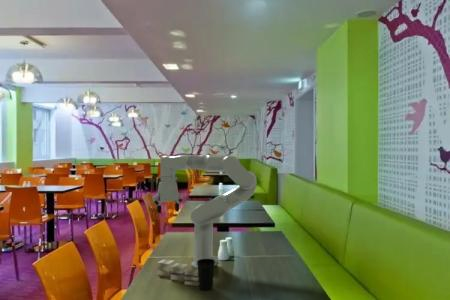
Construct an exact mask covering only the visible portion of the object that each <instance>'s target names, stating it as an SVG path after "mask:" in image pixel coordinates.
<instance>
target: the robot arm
mask: <svg viewBox="0 0 450 300" xmlns="http://www.w3.org/2000/svg"><path fill="white" fill-rule="evenodd" d="M184 170H202V171H205V172H217V173H219V172H220V173H225V174H226V176H228V177H229V178H230V179H231V180H232V181H233V182H234V183H235V185H237V186H236V187H235V188H232V189H230V190H229V191H227V192H225V193H222V194H220V195H217V196H216V197H215V198H212V199H210V200H209V201H206V202H205V203H200V204H198V205H197V206H195V208H193V210H192V211H191V212H190V221H191V222H192V224H193V225H194V229H193V233H194V235H193V239H194V240H193V241H194V243H193V248H194V249H193V250H194V251H193V252H194V254H193V256H194V257H193V259H194V260H193V261H191V263H190V265H191V267H192V268H198V265H197V261H198V260H200V259H212V260H214V261H215V266H216V264H217V265H218V264H220V263H221V260H220V258H216V257H215V255H213V254H214V253H213V250H214V249H213V247H214V246H213V245H214V244H213V243H214V241H213V240H214V239H213V238H214V237H213V235H214V234H213V233H214V228H213V227H214V221H215V220H218V219H221V218H222V217H223V216H225V215H226V214H227V213H229V211H230V210H232V209H234V208H236V207H238V206H240V205H241V204H243V203H245V202H246V201H248V200H249V199H251V198H252V196H253V194H254V193H255V191H256V189H257V176H256V174H255V173H254V172H252V171H249V170H248V169H246V168H245V167H244V166H243V164H241V163H240V160H239V158H238V157H237V156H235V155H225V154H224V155H223V154H221V155H220V154H205V155H197V154H196V155H194V154H193V155H191V154H189V155H188V154H182V155H176V156H174V155H162V156H161V157H160V181H159V183H158V186H157V194H155V195H154V196H152V197H151V199H152V201H153V203H154V204H155V205H156V211H157V213H158V214H162V203H166V202H175V204H174V211H175V212H177V213H178V212H179V210H180V204H181V202H183V199H184V197H185V195H184V194H182V193H180V192H179V191H178V190H179V189H178V183H177V180H178V178H179V177H178V176H176V171H184Z"/></svg>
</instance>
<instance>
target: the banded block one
mask: <svg viewBox="0 0 450 300" xmlns="http://www.w3.org/2000/svg"><path fill="white" fill-rule="evenodd" d="M188 267H189V266H188V264H185V263H177V262H176V263H174V265H173V266H171V272H170V274H171V275H170V280H172V281H178V282H183V281H184V279H185V276H184V274H185V271H186V270H187V269H189V268H188Z"/></svg>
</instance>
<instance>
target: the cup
mask: <svg viewBox="0 0 450 300" xmlns="http://www.w3.org/2000/svg"><path fill="white" fill-rule="evenodd" d="M197 265H198V276H199V285H198V286H199V287H198V288H199V290H200V291H204V292H208V291H212V290H213V288H214V287H213V286H214V273H215V266H216V265H215V261H214V260H212V259H200V260H198V261H197Z"/></svg>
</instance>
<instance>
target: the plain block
mask: <svg viewBox="0 0 450 300" xmlns="http://www.w3.org/2000/svg"><path fill="white" fill-rule="evenodd" d="M174 264H175V260H172V259H164V258H163V259H161V260H159V261H158V262H157V267H156V273H157V276H162V277H171V274H170V272H171V266H173V265H174Z"/></svg>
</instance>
